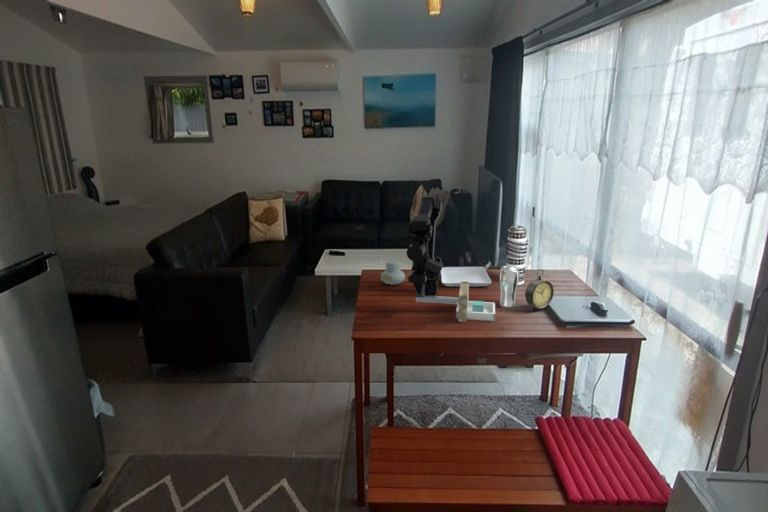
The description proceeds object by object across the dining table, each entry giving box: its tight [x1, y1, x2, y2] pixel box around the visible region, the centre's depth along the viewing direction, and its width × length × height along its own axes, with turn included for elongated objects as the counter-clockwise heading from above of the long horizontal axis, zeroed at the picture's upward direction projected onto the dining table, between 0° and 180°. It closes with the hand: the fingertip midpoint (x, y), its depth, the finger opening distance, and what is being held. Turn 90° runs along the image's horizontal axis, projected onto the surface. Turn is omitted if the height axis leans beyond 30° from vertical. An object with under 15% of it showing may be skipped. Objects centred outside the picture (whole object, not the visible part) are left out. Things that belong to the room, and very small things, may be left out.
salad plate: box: [440, 266, 492, 288], centre depth 209 cm, size 21×21×3 cm
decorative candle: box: [505, 224, 529, 286], centre depth 203 cm, size 9×9×25 cm
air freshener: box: [380, 259, 406, 286], centre depth 206 cm, size 11×8×10 cm
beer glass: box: [499, 265, 519, 309], centre depth 180 cm, size 7×7×15 cm
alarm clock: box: [524, 268, 555, 313], centre depth 175 cm, size 11×5×16 cm, turn 117°
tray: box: [455, 300, 496, 323], centre depth 174 cm, size 14×11×3 cm
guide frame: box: [457, 282, 470, 323], centre depth 174 cm, size 3×15×10 cm, turn 168°
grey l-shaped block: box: [415, 283, 459, 305], centre depth 175 cm, size 18×3×8 cm, turn 78°
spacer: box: [472, 300, 485, 312], centre depth 173 cm, size 4×4×4 cm
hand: (420, 292), depth 176 cm, fingers closed on grey l-shaped block, 3 cm apart
